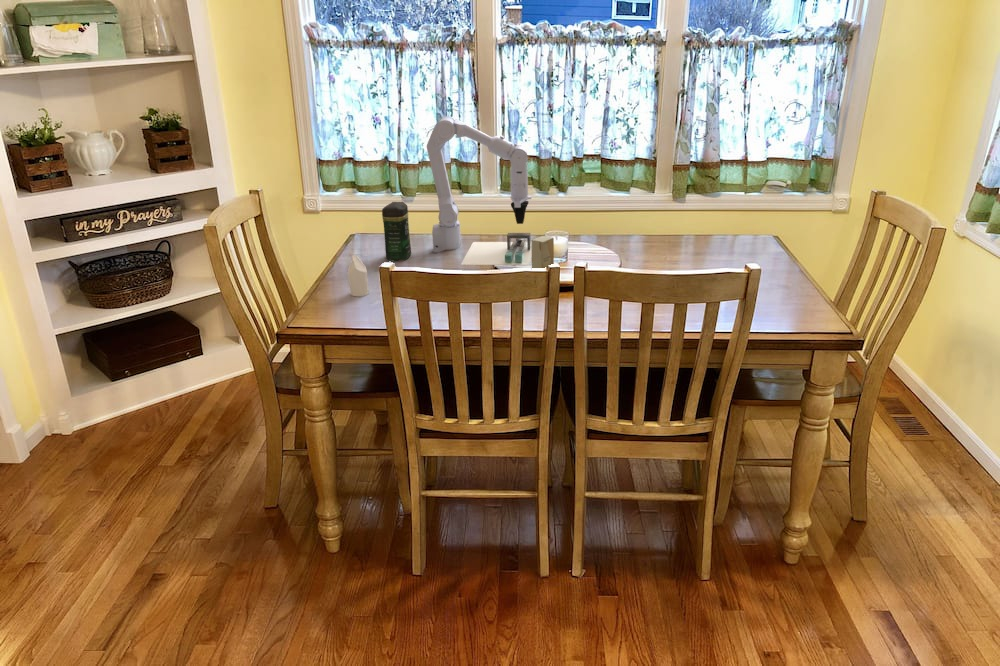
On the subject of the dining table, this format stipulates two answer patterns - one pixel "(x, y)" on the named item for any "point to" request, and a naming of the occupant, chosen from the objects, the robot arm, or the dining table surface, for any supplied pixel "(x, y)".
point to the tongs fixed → (520, 249)
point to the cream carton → (358, 277)
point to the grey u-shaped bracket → (518, 235)
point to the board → (493, 254)
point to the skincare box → (542, 251)
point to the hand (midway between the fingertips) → (520, 223)
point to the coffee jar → (396, 231)
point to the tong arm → (511, 252)
